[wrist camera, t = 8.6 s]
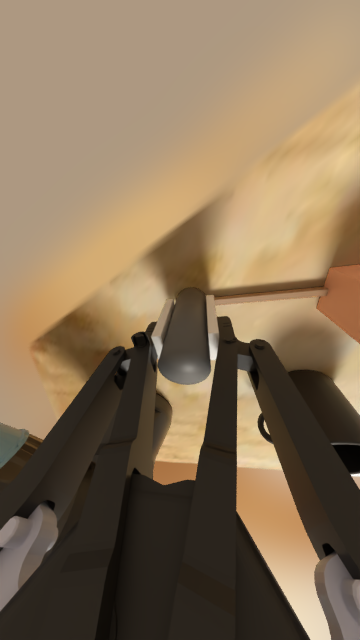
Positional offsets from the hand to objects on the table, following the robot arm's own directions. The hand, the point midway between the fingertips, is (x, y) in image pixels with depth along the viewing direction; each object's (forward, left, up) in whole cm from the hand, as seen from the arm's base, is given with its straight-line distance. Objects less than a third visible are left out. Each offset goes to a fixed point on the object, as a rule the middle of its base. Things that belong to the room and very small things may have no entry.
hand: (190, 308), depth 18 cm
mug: (+14, -18, -2) cm, 22 cm away
